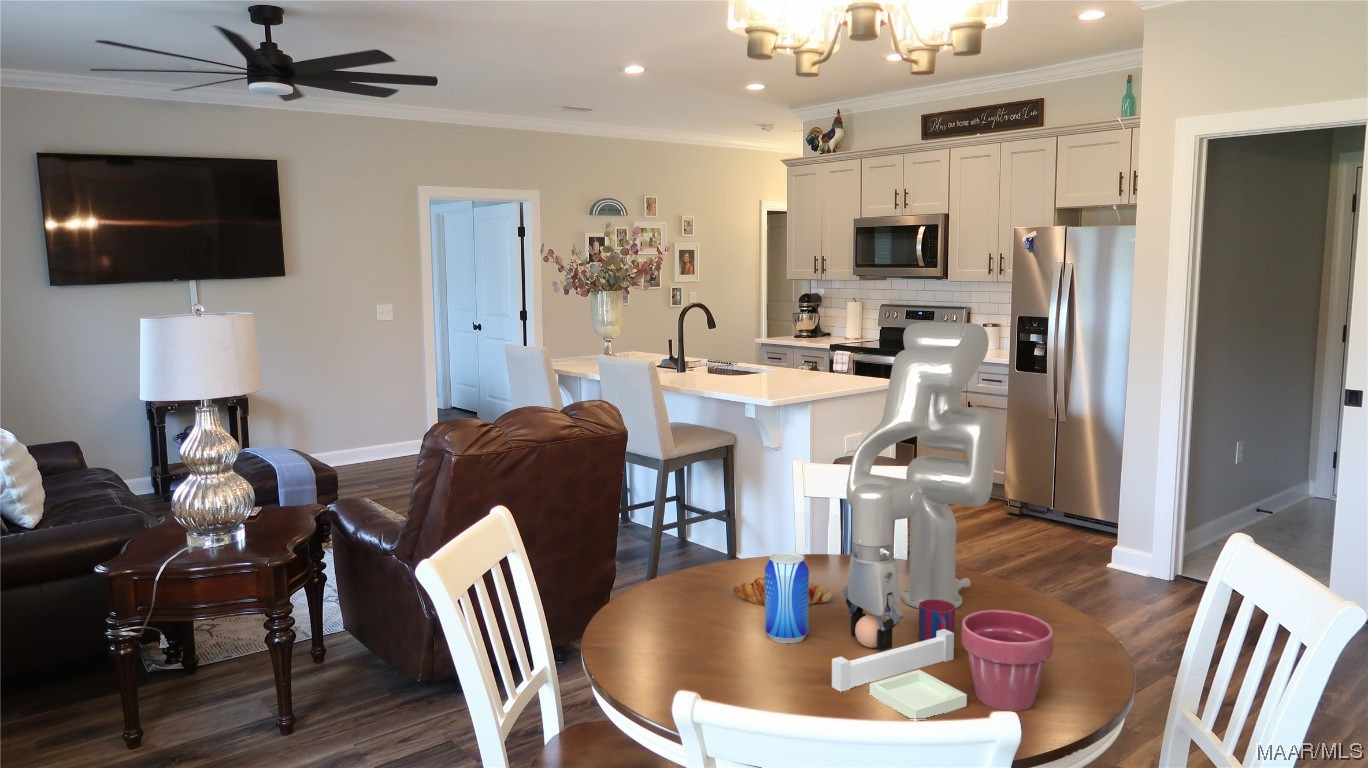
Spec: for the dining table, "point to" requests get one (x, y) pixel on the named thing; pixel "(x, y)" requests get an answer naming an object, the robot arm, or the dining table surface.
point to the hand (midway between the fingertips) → (871, 641)
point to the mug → (935, 618)
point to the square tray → (918, 695)
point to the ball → (867, 630)
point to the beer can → (786, 597)
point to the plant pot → (1006, 656)
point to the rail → (892, 661)
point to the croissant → (757, 592)
